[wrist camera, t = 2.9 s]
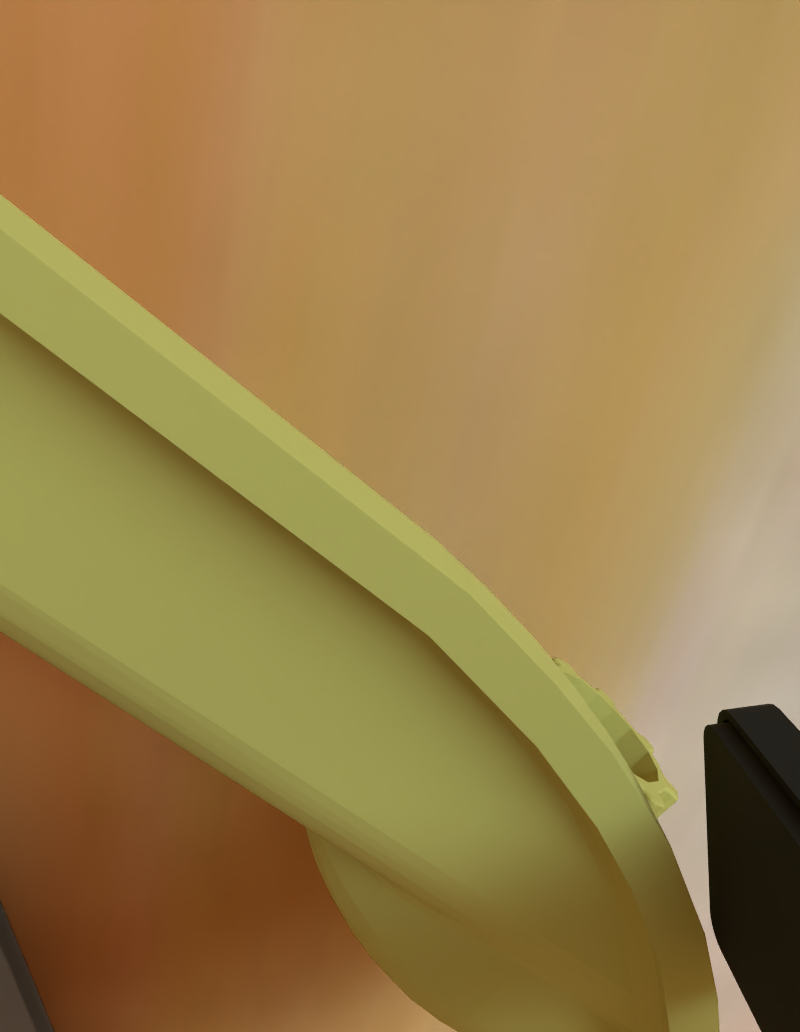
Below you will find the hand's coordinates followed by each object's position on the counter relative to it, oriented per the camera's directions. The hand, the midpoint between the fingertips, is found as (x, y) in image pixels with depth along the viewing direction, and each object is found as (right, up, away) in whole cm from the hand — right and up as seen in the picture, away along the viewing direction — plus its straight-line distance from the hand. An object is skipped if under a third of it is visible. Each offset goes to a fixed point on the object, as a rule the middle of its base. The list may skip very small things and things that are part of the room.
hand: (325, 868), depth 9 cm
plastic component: (-1, +4, +8) cm, 9 cm away
